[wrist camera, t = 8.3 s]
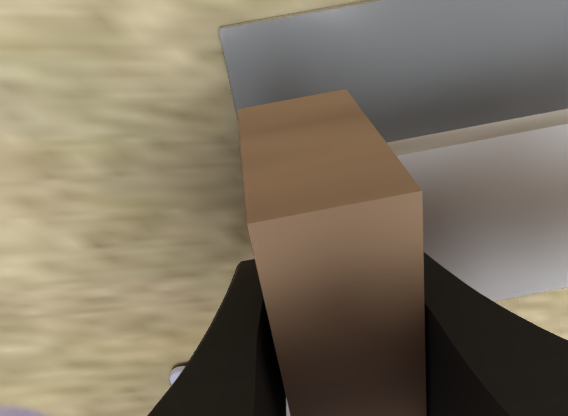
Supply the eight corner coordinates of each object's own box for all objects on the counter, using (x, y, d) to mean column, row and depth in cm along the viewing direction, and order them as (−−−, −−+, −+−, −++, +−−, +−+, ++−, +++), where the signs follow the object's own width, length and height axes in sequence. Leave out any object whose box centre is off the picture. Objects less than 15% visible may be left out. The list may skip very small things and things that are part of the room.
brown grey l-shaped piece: (679, 282, 16) (856, 421, 11) (289, 358, 15) (316, 529, 11) (763, 10, 12) (1088, 64, 7) (237, 109, 11) (246, 224, 7)
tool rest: (578, 201, 22) (587, 208, 21) (267, 255, 22) (268, 263, 21) (614, -45, 17) (626, -44, 16) (219, 26, 17) (218, 29, 17)
